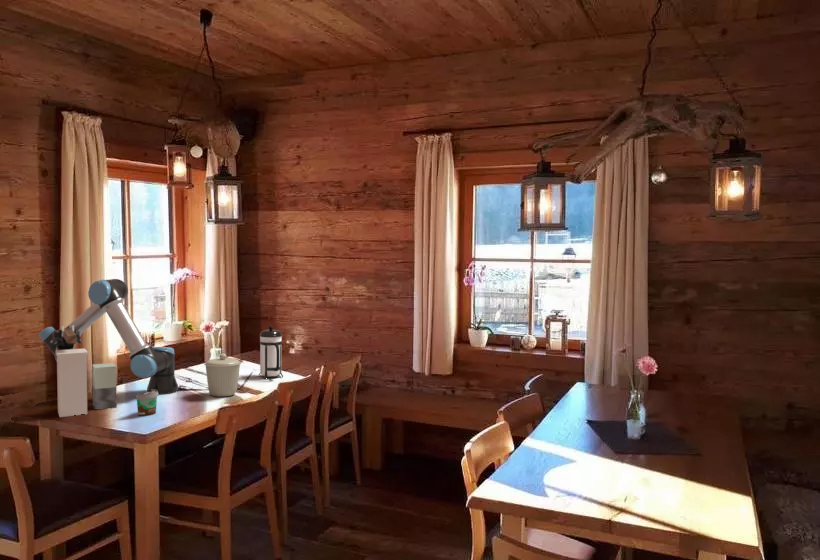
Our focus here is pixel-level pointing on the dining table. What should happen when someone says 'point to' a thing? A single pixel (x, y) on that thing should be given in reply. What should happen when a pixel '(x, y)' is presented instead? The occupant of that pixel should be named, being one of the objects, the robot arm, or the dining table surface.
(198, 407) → the dining table surface
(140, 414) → the food container
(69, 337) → the walnut bar
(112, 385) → the tower top block
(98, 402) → the tower base block
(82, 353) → the tall stand
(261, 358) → the coffee press
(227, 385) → the canister
